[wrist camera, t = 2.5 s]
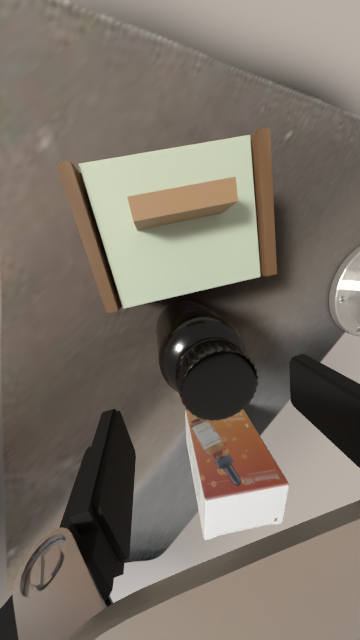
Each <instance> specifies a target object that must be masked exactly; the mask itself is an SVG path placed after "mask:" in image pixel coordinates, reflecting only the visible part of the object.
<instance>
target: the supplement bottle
mask: <svg viewBox="0 0 360 640" xmlns="http://www.w3.org/2000/svg"><path fill="white" fill-rule="evenodd" d="M156 331H157V344H158V355H159V365H160V369H161V373H162V375H163V377H164V379H165V381H166V382H167V383H168V384H169V386H170V387H172V388H173V389H174V390H175V391H177V392H178V393H179V394H180V397H181V399H182V403H183V404H184V405H185V406H186V409H187V410H188V411H190V412H191V414H192V415H196V417H197V418H202V419H203V420H210V421H213V420H217V421H219V420H221V419H227V418H228V417H232V416H234V415H235V414H237V413H239V412H240V411H241V410H242V409H244V408H245V407H246V405H248V404H249V403H250V401H251V399H252V398H253V397H254V393H255V392H256V387H257V385H258V382H257V379H258V376H257V370H256V369H255V366H254V363H253V362H252V361H251V360H250V358H249V357H248V356H247V355H246V354H245V347H244V343H243V340H242V337H241V335H240V334H239V332H238V331H237V330H236V328H235V327H234V326H233V325H231V324H230V323H229V322H228V321H226V320H225V319H223V318H222V317H220V316H219V315H217V314H216V313H214V312H213V311H211V310H210V309H208V308H207V307H205V306H203V305H202V304H200V303H198V302H195V301H191V300H182V301H177V302H175V303H173V304H171V305H169V306H168V307H167V308H166V309H165V310H164V311H163V312H162V313H161V315H160V317H159V319H158V322H157V330H156Z"/></svg>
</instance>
